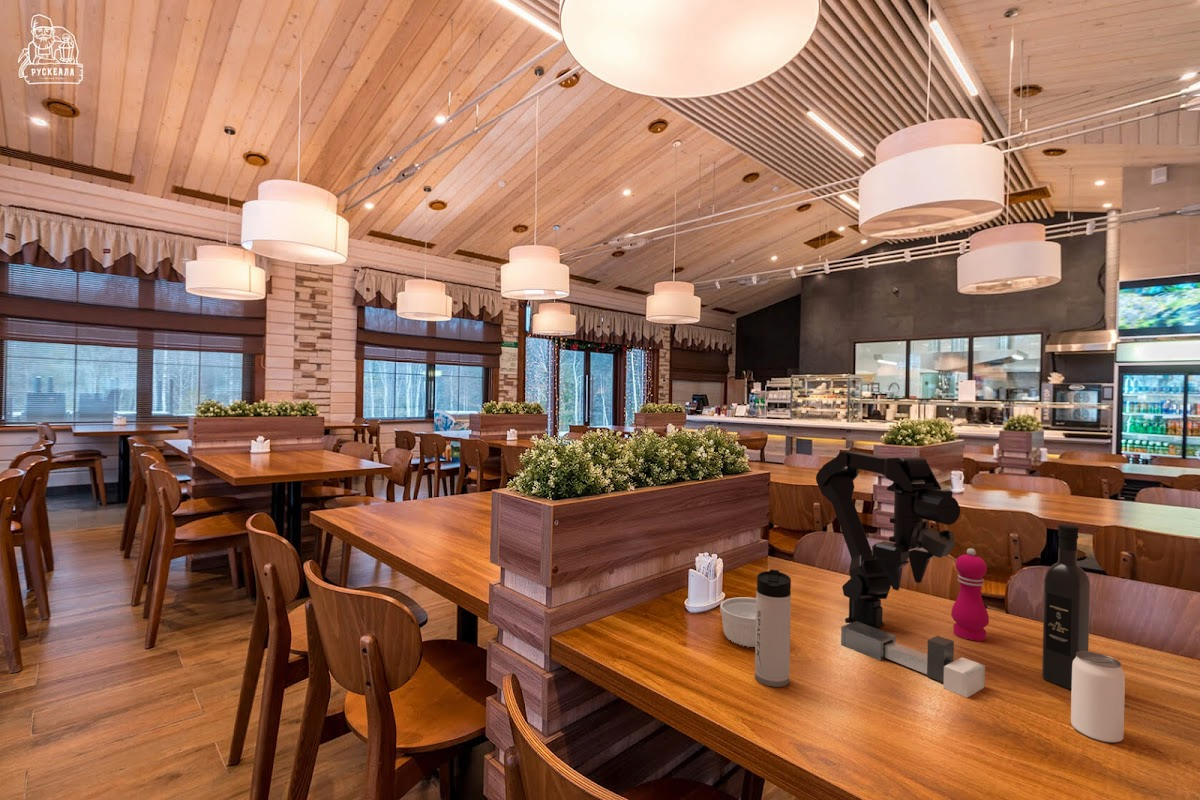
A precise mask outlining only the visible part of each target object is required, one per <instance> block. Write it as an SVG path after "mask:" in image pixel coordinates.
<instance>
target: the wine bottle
mask: <svg viewBox="0 0 1200 800" xmlns="http://www.w3.org/2000/svg"><path fill="white" fill-rule="evenodd" d="M1057 530H1058V531H1057V536H1058V550H1057V551H1058V553H1057V554H1058V556H1057V557H1058V558H1057V562H1056V563H1054V564H1052V565H1051V566H1050V567H1048V569H1047V571H1046V573H1045V576H1044V580H1043V581H1044V585H1043V586H1044V587H1043V588H1044V591H1043V621H1042V623H1043V624H1042V627H1043V629H1042V630H1043V632H1042V638H1043V639H1042V663H1041V664H1042V665H1041V666H1042V668H1041V669H1042V671H1041V674H1042V675H1041V677H1042V678H1043V679H1044V680H1045V681H1047V682H1050V683H1052V684H1055V685H1057V686H1060V687H1062V688H1065V689H1067V690H1070V689H1071V690H1070V691H1072V663H1073V660H1074V659H1075V658H1076V653H1077V652H1080V651H1088V652H1089V644H1090V643H1089V640H1090V639H1089V638H1090V606H1091V605H1090V602H1091V599H1090V595H1091V583H1090V582H1091V581H1090V578H1089V576H1088V574H1087V573H1086V571H1084V569H1083V568H1081V567H1080V566H1079V565H1078V560H1077V559H1078V539H1079V527H1078V526H1075V525H1073V524H1072V525H1070V524H1058V525H1057Z"/></svg>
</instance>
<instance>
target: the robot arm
mask: <svg viewBox="0 0 1200 800" xmlns="http://www.w3.org/2000/svg"><path fill="white" fill-rule="evenodd" d="M859 470H862V471H867V472H872V473H876V474H880V475H882V476H884V477H885V478H886V479H887V480H889V481H891V482H892V483H891V484H890V485H889V486H887V487H886V490H887V491H889V492H892V493H893V494H894V497H893V499H894V501H893V517H890V518H889V523H891V524H893V535H892V536H889V539H888V540H889V541H886V540H885V541H879V542H876V543H874V544H873V545H872V546H871V545H870V543H869V541H868V537H867V534H866V533H865V529H864V526H863V523H862V520H861V518H860V516H859V513H858V510H857V507H856V506H855V503H854V502H855V501H854V500H853V495H854V491H855V484H854V480H855V479H856V478H857V477H858V476H859ZM815 481H816V485H817V486H818V489H819V490H820V492H821V494H822V495H823V497H825V498H826V499H827V500H828V501H829V502H830V503H831V505H832V507H833V510H834V513H835V516H836V518H837V522H838V524H839V528H840V530H841V532H842V536H843V538H844V541H845V544H846V547H847V549H848V552H849V555H850V564H849V568H848V572H849V578H850V579H848V580H847V581H846V582H845V583H844V584H843V585H842V593H843V596H844V597H846V598H847V599H849V600H848V617H845V618H844V621H845V622H847V623H848V624H849V623H852V622H855V621H857V622H860V623H863V624H866V625H868V626H871V627H874V628H878V627H881V626H884V625H885V621H883V611H884V610H883V606H882V600H887V598H888V595H889V592H890V590H891V588H892V590H895V591H897V592H899V590H900V586H901V581H902V575H903V574H902V573H903V568H904V567H905V566H907V564H909V563H910V567H911V568H910V569H911V572H912V576H913V579H914V582H915V583H917V584H922V582H923V581H922V580H923V578H924V576H925V574H926V570H927V567H928V565H929V563H930V560H931V559H933V558H934V557H936V558H939V559H941V558H943V557H945V556H946V557H948V556H949V554H950V552H951V550H952V548H955V547H956V540H955V537H954V532H953V531H951V530H949V529H943V530H941V531H940V532H939V531H938V530H934V529H930V522H929V521H931V522H935V523H938V524H941V525H947V526H950V525H953V524H955V523H956V522H957V521H958V520H959V518H960V516H961V515H960V514H961V506H960V505H959V502H958V500H957V499H956V498H954V497H953V491H952V490H949V489H944V490H942V487H941V485H940V483H939V481H938V480H937V478H936V475H934V472H933V471H932V468H931V467H930V464H929V463H928V461H927V459H925V458H924V457H922V456H921V457H919V456H914V457H912V456H909V457H908V456H907V457H906V456H904V457H903V456H902V457H888V456H883V455H877V454H874V453H873V454H872V453H867V452H861V451H859V450H843V451H841V452H839V453H838V454H837V456H835V457H833V458H832V459H831V460H830V461H828V462H826V463H825V464H823V466H822V467H820V469H819V470H818V472H817V474H816V475H815ZM908 559H909V560H908Z"/></svg>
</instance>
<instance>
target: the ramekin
mask: <svg viewBox="0 0 1200 800" xmlns="http://www.w3.org/2000/svg"><path fill="white" fill-rule="evenodd" d="M719 607H720V608H719V612H720V615H721V622H722V630H723V634H724V636H725V637H726V639H727V640H729V641H730V640H731V641H732V643H733V642H734V643H733V644H735V643H737V644H739V645H738V646H740V645H742V646H741V647H744V646H747V647H746V648H749V647H755V645H756V597H749V596H748V597H745V596H744V597H741V596H740V597H732V598H727V599H724V600H723V601H721V603H720V604H719ZM731 641H730V642H731ZM737 644H736V645H737Z"/></svg>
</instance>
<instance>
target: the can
mask: <svg viewBox="0 0 1200 800" xmlns="http://www.w3.org/2000/svg"><path fill="white" fill-rule="evenodd" d="M1125 677H1126V676H1125V673H1124V670H1123V669H1122V662H1120V661H1119V660H1118V659H1116V658H1114V657H1111V656H1109V655H1105V654H1103V653H1097V652H1094V651H1089V650H1088V651H1080V652H1077V653H1076V658H1075V659H1074V660H1073V663H1072V690H1070V691H1071V696H1070V697H1071V699H1070V707H1071V708H1070V724H1071V726H1072V727H1073V728H1074V730H1076V732H1079V734H1082V735H1083V736H1085V737H1088V738H1089V739H1092V740H1095V741H1099V742H1103V743H1107V744H1108V743H1109V744H1116V743H1120V742H1122V741H1123V740H1124V731H1125V730H1124V729H1125V725H1124V724H1125V699H1126V698H1125V694H1126V693H1125V691H1126V690H1125V689H1126V685H1125V683H1126V678H1125Z"/></svg>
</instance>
